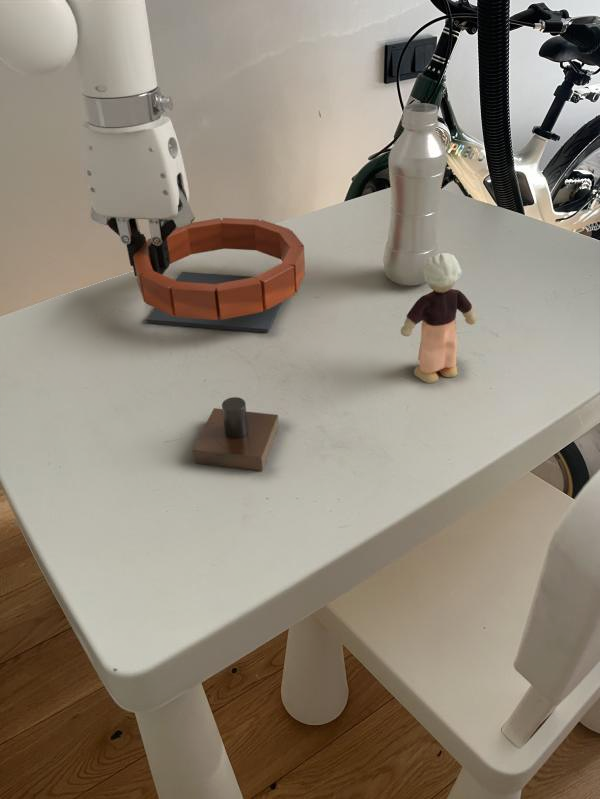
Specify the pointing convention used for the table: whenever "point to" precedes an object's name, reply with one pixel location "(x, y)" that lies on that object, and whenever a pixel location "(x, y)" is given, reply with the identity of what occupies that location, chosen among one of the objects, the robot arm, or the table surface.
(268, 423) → the post
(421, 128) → the plastic bottle
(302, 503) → the table surface
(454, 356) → the grandmother figurine
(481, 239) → the table surface
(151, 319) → the mat
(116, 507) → the table surface
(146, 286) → the hoop
